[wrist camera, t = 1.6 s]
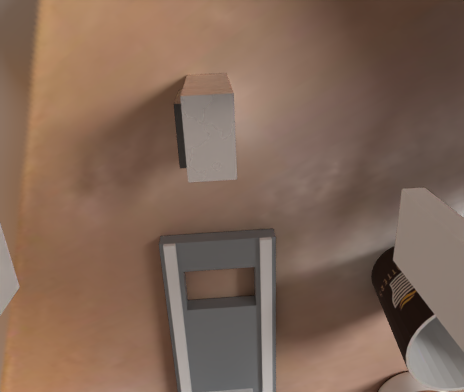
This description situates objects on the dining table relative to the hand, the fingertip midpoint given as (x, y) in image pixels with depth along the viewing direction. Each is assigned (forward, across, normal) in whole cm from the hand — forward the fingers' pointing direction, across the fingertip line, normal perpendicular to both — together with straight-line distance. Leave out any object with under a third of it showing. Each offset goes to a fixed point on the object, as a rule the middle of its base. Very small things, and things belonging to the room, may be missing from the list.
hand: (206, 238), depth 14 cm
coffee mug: (+21, +19, -16) cm, 32 cm away
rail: (+20, 0, -23) cm, 31 cm away
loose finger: (+21, 0, 0) cm, 21 cm away
